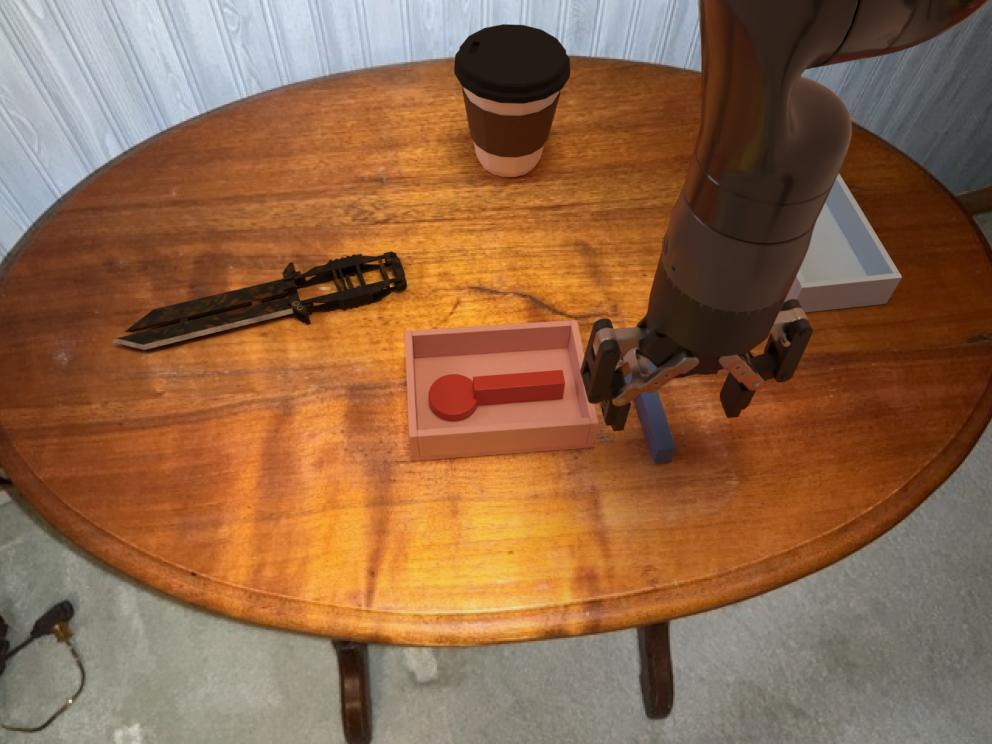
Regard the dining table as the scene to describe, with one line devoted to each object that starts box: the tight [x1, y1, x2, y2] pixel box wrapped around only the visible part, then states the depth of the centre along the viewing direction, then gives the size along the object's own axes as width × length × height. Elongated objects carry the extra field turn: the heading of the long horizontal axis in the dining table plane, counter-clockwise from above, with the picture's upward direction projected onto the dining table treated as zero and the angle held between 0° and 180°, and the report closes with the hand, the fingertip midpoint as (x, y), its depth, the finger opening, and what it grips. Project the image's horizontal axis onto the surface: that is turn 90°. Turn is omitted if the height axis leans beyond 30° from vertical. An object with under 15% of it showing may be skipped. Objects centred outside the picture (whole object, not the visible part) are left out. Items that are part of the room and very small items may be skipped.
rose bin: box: [404, 319, 600, 462], centre depth 65 cm, size 14×10×4 cm
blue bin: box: [784, 173, 903, 313], centre depth 79 cm, size 25×9×4 cm, turn 9°
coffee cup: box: [453, 23, 571, 178], centre depth 80 cm, size 11×11×12 cm
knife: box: [111, 251, 408, 351], centre depth 72 cm, size 25×6×1 cm, turn 105°
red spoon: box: [429, 370, 565, 421], centre depth 65 cm, size 11×4×2 cm, turn 96°
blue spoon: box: [624, 358, 677, 465], centre depth 66 cm, size 11×4×2 cm, turn 9°
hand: (671, 414), depth 60 cm, fingers open, 8 cm apart
